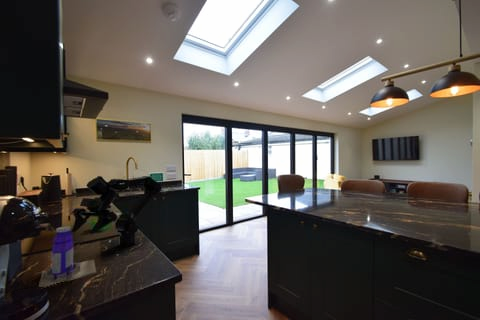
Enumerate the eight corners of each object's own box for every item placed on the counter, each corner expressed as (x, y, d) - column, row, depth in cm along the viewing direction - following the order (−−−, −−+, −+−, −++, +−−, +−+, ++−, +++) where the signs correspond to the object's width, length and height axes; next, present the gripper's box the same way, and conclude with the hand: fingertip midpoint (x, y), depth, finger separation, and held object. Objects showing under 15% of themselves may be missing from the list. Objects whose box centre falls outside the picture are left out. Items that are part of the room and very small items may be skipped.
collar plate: (93, 260, 90) (93, 254, 90) (96, 273, 79) (96, 266, 79) (42, 273, 80) (42, 266, 80) (37, 289, 69) (38, 281, 70)
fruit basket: (113, 227, 136) (113, 210, 136) (102, 232, 127) (102, 213, 127) (97, 227, 137) (97, 209, 138) (85, 231, 129) (86, 213, 129)
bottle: (57, 270, 80) (58, 225, 80) (75, 268, 82) (76, 224, 82) (48, 280, 73) (49, 231, 74) (68, 277, 75) (68, 229, 76)
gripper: (76, 189, 92) (48, 221, 81) (112, 191, 89) (88, 224, 78) (91, 204, 100) (68, 235, 89) (125, 205, 96) (105, 238, 85)
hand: (81, 233), depth 85 cm, fingers open, 9 cm apart
